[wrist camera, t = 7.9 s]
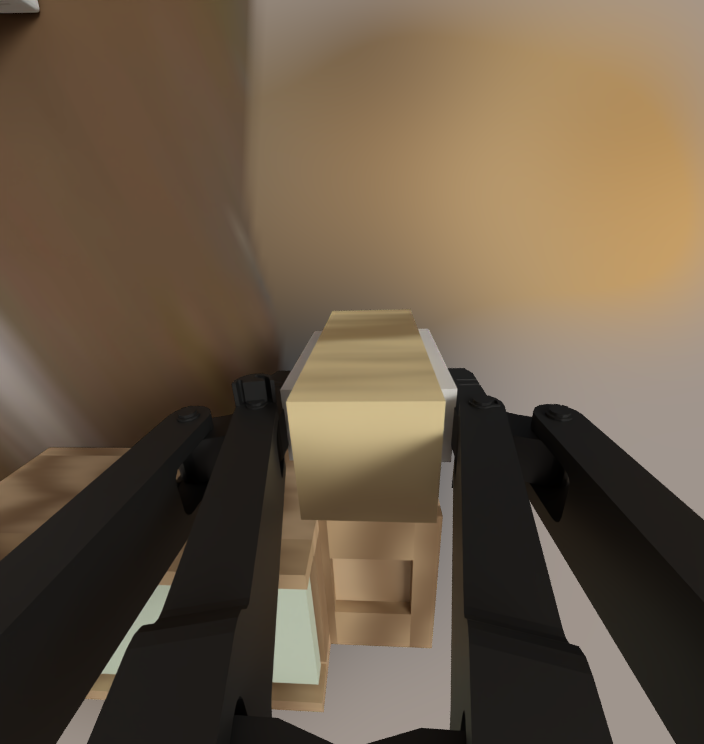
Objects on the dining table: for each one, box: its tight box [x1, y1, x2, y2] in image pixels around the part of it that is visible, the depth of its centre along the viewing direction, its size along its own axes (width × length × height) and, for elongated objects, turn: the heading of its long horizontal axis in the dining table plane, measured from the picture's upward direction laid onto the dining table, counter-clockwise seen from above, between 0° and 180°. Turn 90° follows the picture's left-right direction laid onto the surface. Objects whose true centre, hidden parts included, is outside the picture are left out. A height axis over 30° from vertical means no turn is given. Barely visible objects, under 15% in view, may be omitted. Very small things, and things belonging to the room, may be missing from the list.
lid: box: [101, 577, 321, 685], centre depth 20 cm, size 21×9×3 cm, turn 92°
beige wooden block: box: [286, 309, 446, 523], centre depth 14 cm, size 4×4×10 cm
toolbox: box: [0, 448, 442, 712], centre depth 24 cm, size 29×12×10 cm, turn 92°
